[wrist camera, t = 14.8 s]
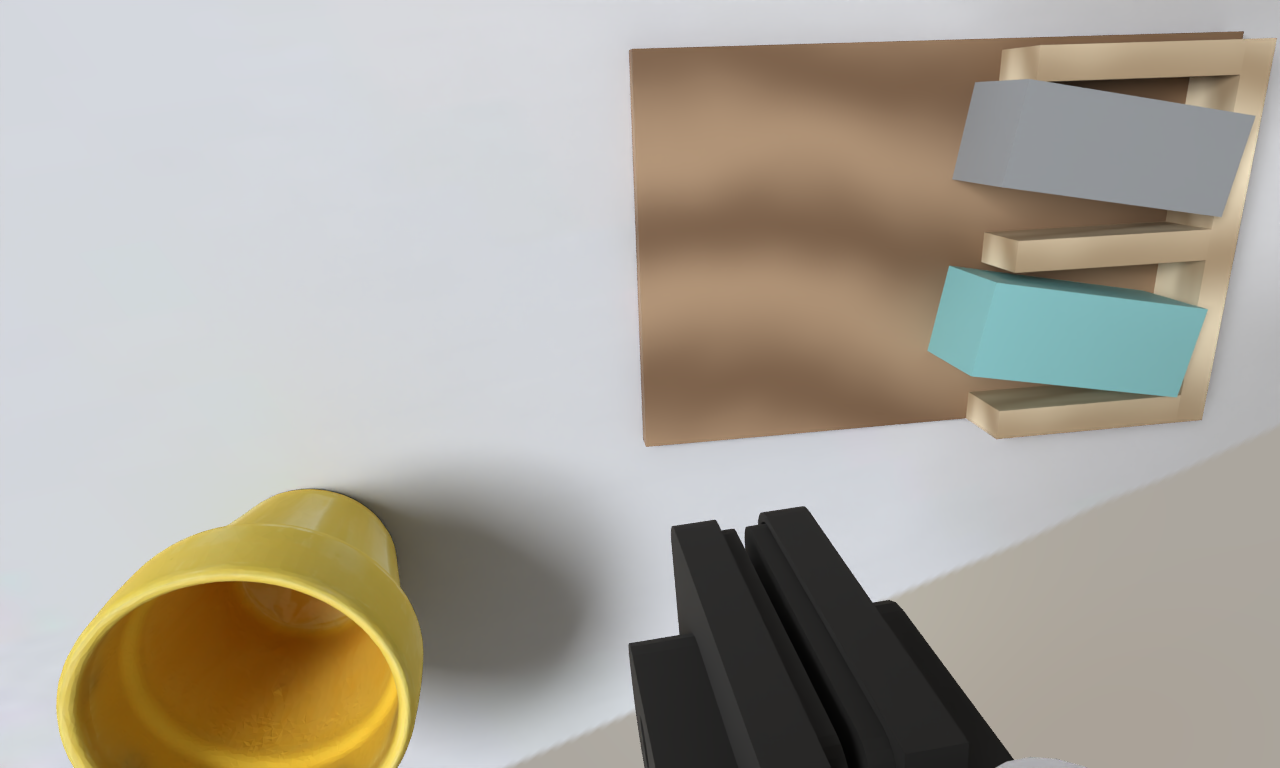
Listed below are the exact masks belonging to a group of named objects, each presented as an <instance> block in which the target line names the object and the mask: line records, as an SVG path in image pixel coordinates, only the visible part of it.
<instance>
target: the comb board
mask: <svg viewBox="0 0 1280 768" xmlns="http://www.w3.org/2000/svg"><path fill="white" fill-rule="evenodd" d="M1243 33H1244V31H1242V32H1207V33H1172V34H1138V35H1103V36H1068V37H1033V38H998V39H963V40H928V41H893V42H858V43H823V44H788V45H754V46H719V47H684V48H649V49H631V50H629V63H630V90H631V117H632V144H633V172H634V199H635V226H636V253H637V281H638V308H639V335H640V362H641V390H642V417H643V440H644V442H645V445H646V447H649V446H660V445H671V444H683V443H694V442H705V441H716V440H727V439H739V438H750V437H761V436H772V435H783V434H795V433H806V432H817V431H828V430H839V429H851V428H862V427H873V426H884V425H895V424H907V423H918V422H929V421H940V420H951V419H963V418H966V419H968V420H969V421H971V422H972V423H974V424H975V425H977V426H978V427H980V428H981V429H982V430H984V431H985V432H987V433H988V434H990V435H991V436H993V437H994V438H996V439H1002V438H1013V437H1024V436H1034V435H1045V434H1056V433H1067V432H1077V431H1088V430H1099V429H1110V428H1120V427H1131V426H1142V425H1153V424H1163V423H1174V422H1185V421H1196V420H1202V416H1203V411H1204V406H1205V401H1206V396H1207V391H1208V386H1209V381H1210V376H1211V371H1212V365H1213V360H1214V355H1215V350H1216V345H1217V340H1218V335H1219V330H1220V325H1221V320H1222V315H1223V310H1224V305H1225V299H1226V294H1227V289H1228V284H1229V279H1230V274H1231V269H1232V264H1233V259H1234V254H1235V249H1236V244H1237V238H1238V233H1239V228H1240V223H1241V218H1242V213H1243V208H1244V203H1245V198H1246V193H1247V188H1248V183H1249V177H1250V172H1251V167H1252V162H1253V157H1254V152H1255V147H1256V142H1257V137H1258V132H1259V127H1260V122H1261V117H1262V111H1263V106H1264V101H1265V96H1266V91H1267V86H1268V81H1269V76H1270V71H1271V66H1272V61H1273V56H1274V50H1275V45H1276V40H1277V38H1263V39H1243ZM1020 79H1033V80H1039V81H1045V82H1051V83H1058V84H1064V85H1070V86H1076V87H1082V88H1088V89H1094V90H1101V91H1107V92H1113V93H1119V94H1125V95H1131V96H1137V97H1143V98H1150V99H1156V100H1162V101H1168V102H1174V103H1180V104H1186V105H1193V106H1199V107H1205V108H1211V109H1217V110H1223V111H1229V112H1236V113H1242V114H1248V115H1254V116H1256V117H1255V120H1254V123H1253V126H1252V129H1251V132H1250V134H1249V137H1248V140H1247V143H1246V146H1245V149H1244V152H1243V155H1242V158H1241V161H1240V164H1239V167H1238V170H1237V173H1236V176H1235V179H1234V182H1233V185H1232V188H1231V191H1230V194H1229V197H1228V200H1227V203H1226V206H1225V209H1224V211H1223V214H1222V217H1216V216H1209V215H1202V214H1194V213H1187V212H1180V211H1172V210H1165V209H1158V208H1150V207H1143V206H1136V205H1128V204H1121V203H1114V202H1106V201H1099V200H1092V199H1084V198H1077V197H1070V196H1062V195H1055V194H1048V193H1040V192H1033V191H1025V190H1018V189H1011V188H1003V187H997V186H991V185H984V184H978V183H972V182H966V181H959V180H953V179H952V178H953V173H954V169H955V165H956V161H957V157H958V152H959V148H960V144H961V140H962V136H963V131H964V127H965V123H966V119H967V115H968V110H969V106H970V102H971V98H972V94H973V89H974V85H975V82H987V81H1004V80H1020ZM949 266H956V267H964V268H972V269H979V270H987V271H995V272H1003V273H1010V274H1018V275H1026V276H1034V277H1042V278H1049V279H1057V280H1065V281H1073V282H1080V283H1088V284H1096V285H1104V286H1111V287H1119V288H1127V289H1135V290H1142V291H1146V292H1150V293H1153V294H1157V295H1160V296H1164V297H1167V298H1170V299H1174V300H1177V301H1181V302H1184V303H1188V304H1191V305H1195V306H1198V307H1202V308H1205V309H1208V311H1207V314H1206V317H1205V320H1204V322H1203V325H1202V328H1201V331H1200V334H1199V336H1198V339H1197V342H1196V345H1195V348H1194V351H1193V353H1192V356H1191V359H1190V362H1189V365H1188V367H1187V370H1186V373H1185V376H1184V379H1183V382H1182V384H1181V387H1180V390H1179V393H1178V396H1177V397H1167V396H1157V395H1147V394H1138V393H1128V392H1118V391H1109V390H1099V389H1089V388H1079V387H1070V386H1060V385H1050V384H1041V383H1031V382H1021V381H1011V380H1002V379H992V378H982V377H973V376H970V375H968V374H966V373H964V372H963V371H961V370H959V369H958V368H956V367H954V366H952V365H951V364H949V363H947V362H946V361H944V360H942V359H941V358H939V357H937V356H935V355H934V354H932V353H930V352H929V351H927V350H928V347H929V343H930V339H931V335H932V331H933V327H934V323H935V319H936V315H937V311H938V307H939V303H940V300H941V296H942V292H943V288H944V284H945V280H946V276H947V272H948V268H949Z"/></svg>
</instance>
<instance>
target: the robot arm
mask: <svg viewBox="0 0 1280 768" xmlns="http://www.w3.org/2000/svg"><path fill="white" fill-rule="evenodd" d="M671 542H672V554H673V565H674V577H675V588H676V600H677V611H678V622H679V634H680V635H677V636H671V637H665V638H659V639H653V640H647V641H641V642H635V643H629V658H630V667H631V676H632V685H633V693H634V701H635V709H636V716H637V723H638V730H639V737H640V742H641V749H642V755H643V761H644V767H645V768H1087V767H1084V766H1081V765H1077V764H1073V763H1070V762H1066V761H1062V760H1059V759H1049V758H1035V757H1029V758H1023V759H1017V760H1014V759H1013V758H1012V757H1011V755H1010V754H1009V752H1008V751H1007V750H1006V748H1005V747H1004V746H1003V744H1002V743H1001V742H1000V740H999V739H998V738H997V736H996V735H995V734H994V732H993V731H992V729H991V728H990V727H989V725H988V724H987V723H986V721H985V720H984V719H983V717H982V716H981V715H980V713H979V712H978V711H977V709H976V708H975V706H974V705H973V704H972V702H971V701H970V700H969V698H968V697H967V696H966V694H965V693H964V692H963V690H962V689H961V688H960V686H959V685H958V684H957V683H956V681H955V680H954V678H953V677H952V676H951V674H950V673H949V671H948V670H947V669H946V667H945V666H944V665H943V663H942V662H941V661H940V659H939V658H938V657H937V655H936V654H935V653H934V651H933V650H932V649H931V647H930V646H929V645H928V643H927V642H926V641H925V639H924V638H923V636H922V635H921V634H920V632H919V631H918V630H917V628H916V627H915V626H914V624H913V623H912V621H911V620H910V619H909V618H908V616H907V615H906V613H905V612H904V611H903V609H902V608H900V606H899V605H898V604H897V603H896V602H893V601H890V600H886V601H880V602H874V603H872V601H871V600H870V598H869V597H868V595H867V594H866V593H865V591H864V590H863V588H862V587H861V585H860V584H859V582H858V581H857V580H856V578H855V577H854V575H853V574H852V572H851V571H850V569H849V568H848V567H847V565H846V564H845V562H844V561H843V559H842V558H841V556H840V555H839V554H838V552H837V551H836V549H835V548H834V546H833V545H832V543H831V542H830V541H829V539H828V538H827V536H826V535H825V533H824V532H823V530H822V529H821V528H820V526H819V525H818V523H817V522H816V520H815V519H814V517H813V516H812V515H811V513H810V512H809V510H808V509H807V508H806V507H803V506H802V507H795V508H788V509H782V510H775V511H769V512H762V513H760V515H759V519H758V525H754V526H748V527H746V529H745V548H744V546H743V544H742V542H741V540H740V538H739V536H738V534H737V532H736V531H735V529H728V530H722V531H721V529H720V527H719V525H718V523H717V521H716V520H710V521H704V522H697V523H690V524H684V525H677V526H672V528H671Z"/></svg>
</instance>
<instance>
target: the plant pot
mask: <svg viewBox="0 0 1280 768" xmlns="http://www.w3.org/2000/svg"><path fill="white" fill-rule="evenodd" d="M422 671H423V641H422V635H421V630H420V626H419V623H418V620H417V617H416V614H415V612H414V609H413V607H412V605H411V603H410V602H409V600H408V598H407V596H406V595H405V593H404V592H403V590H402V589H401V587H400V580H399V573H398V565H397V557H396V551H395V547H394V543H393V541H392V538H391V536H390V534H389V532H388V531H387V529H386V528H385V526H384V525H383V523H382V522H381V521H380V520H379V518H378V517H377V516H376V515H375V514H374V513H373V512H372V511H370V510H369V509H368V508H367V507H365V506H364V505H362V504H361V503H359V502H357V501H356V500H354V499H352V498H350V497H347V496H345V495H342V494H339V493H335V492H331V491H326V490H317V489H301V490H293V491H288V492H284V493H280V494H277V495H275V496H273V497H270V498H268V499H267V500H265V501H263V502H261V503H260V504H258V505H257V506H255V507H254V508H252V509H251V510H249V511H248V512H247V513H245V514H244V515H242V516H241V517H240V518H238V519H237V520H235V521H233V522H232V523H230V524H229V525H227V526H224V527H219V528H215V529H211V530H207V531H204V532H201V533H198V534H195V535H193V536H190V537H188V538H186V539H183V540H181V541H179V542H177V543H175V544H173V545H171V546H170V547H168V548H166V549H165V550H163V551H162V552H160V553H158V554H157V555H156V556H154V557H153V558H152V559H150V560H149V561H148V562H147V563H145V564H144V565H143V566H142V567H141V568H140V569H139V570H138V571H137V572H136V573H135V574H134V575H133V576H132V577H131V578H130V579H129V580H128V581H127V582H126V583H125V584H124V585H123V586H122V587H121V588H120V589H119V590H118V591H117V592H116V593H115V594H114V595H113V596H112V597H111V599H110V600H109V601H108V602H107V603H106V604H105V606H104V607H103V608H102V609H101V610H100V611H99V613H98V614H97V615H96V616H95V618H94V619H93V620H92V621H91V622H90V624H89V625H88V626H87V627H86V628H85V630H84V631H83V632H82V634H81V635H80V636H79V638H78V639H77V641H76V643H75V644H74V646H73V648H72V650H71V651H70V653H69V655H68V657H67V659H66V662H65V664H64V666H63V670H62V673H61V677H60V680H59V684H58V691H57V705H56V709H57V719H58V726H59V732H60V736H61V740H62V743H63V746H64V749H65V751H66V753H67V756H68V758H69V760H70V761H71V763H72V765H73V767H74V768H397V767H398V766H399V764H400V762H401V760H402V759H403V757H404V754H405V752H406V750H407V747H408V744H409V742H410V739H411V736H412V732H413V729H414V724H415V719H416V714H417V709H418V703H419V696H420V690H421V682H422Z"/></svg>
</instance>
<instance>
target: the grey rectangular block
mask: <svg viewBox="0 0 1280 768" xmlns="http://www.w3.org/2000/svg"><path fill="white" fill-rule="evenodd" d="M1255 117H1256V116H1254V115H1248V114H1242V113H1236V112H1229V111H1223V110H1217V109H1211V108H1205V107H1199V106H1193V105H1186V104H1180V103H1174V102H1168V101H1162V100H1156V99H1150V98H1143V97H1137V96H1131V95H1125V94H1119V93H1113V92H1107V91H1101V90H1094V89H1088V88H1082V87H1076V86H1070V85H1064V84H1058V83H1051V82H1045V81H1039V80H1033V79H1020V80H1004V81H987V82H975V85H974V89H973V94H972V98H971V102H970V106H969V110H968V115H967V119H966V123H965V127H964V131H963V136H962V140H961V144H960V148H959V152H958V157H957V161H956V165H955V169H954V173H953V178H952V179H953V180H959V181H966V182H972V183H978V184H984V185H991V186H997V187H1003V188H1011V189H1018V190H1025V191H1033V192H1040V193H1048V194H1055V195H1062V196H1070V197H1077V198H1084V199H1092V200H1099V201H1106V202H1114V203H1121V204H1128V205H1136V206H1143V207H1150V208H1158V209H1165V210H1172V211H1180V212H1187V213H1194V214H1202V215H1209V216H1216V217H1222V214H1223V211H1224V209H1225V206H1226V203H1227V200H1228V197H1229V194H1230V191H1231V188H1232V185H1233V182H1234V179H1235V176H1236V173H1237V170H1238V167H1239V164H1240V161H1241V158H1242V155H1243V152H1244V149H1245V146H1246V143H1247V140H1248V137H1249V134H1250V132H1251V129H1252V126H1253V123H1254V120H1255Z"/></svg>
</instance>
